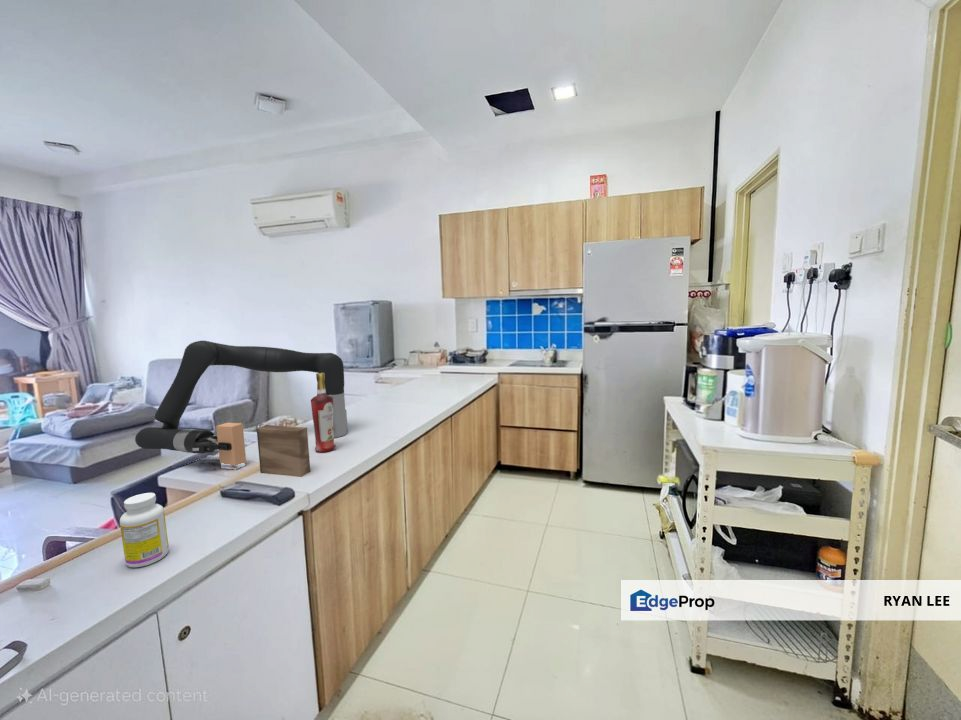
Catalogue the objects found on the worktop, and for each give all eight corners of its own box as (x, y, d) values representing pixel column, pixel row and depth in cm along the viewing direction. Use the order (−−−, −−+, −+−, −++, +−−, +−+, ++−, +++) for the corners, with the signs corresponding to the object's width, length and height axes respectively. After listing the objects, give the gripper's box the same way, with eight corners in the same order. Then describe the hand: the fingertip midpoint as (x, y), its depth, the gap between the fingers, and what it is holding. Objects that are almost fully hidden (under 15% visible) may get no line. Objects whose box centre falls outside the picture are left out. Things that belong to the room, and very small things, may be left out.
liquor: (327, 445, 143) (322, 371, 140) (340, 449, 139) (335, 372, 136) (309, 452, 137) (304, 374, 133) (323, 455, 133) (317, 375, 130)
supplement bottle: (143, 549, 80) (135, 490, 79) (177, 547, 81) (170, 489, 79) (116, 570, 74) (107, 507, 72) (152, 568, 74) (144, 504, 73)
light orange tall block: (231, 464, 126) (227, 422, 124) (246, 465, 125) (242, 423, 123) (220, 468, 122) (216, 426, 121) (235, 470, 121) (231, 427, 119)
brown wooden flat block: (271, 468, 122) (267, 424, 121) (310, 472, 119) (307, 427, 117) (260, 473, 118) (256, 428, 117) (301, 477, 115) (297, 431, 113)
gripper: (170, 436, 119) (215, 440, 115) (213, 423, 133) (254, 426, 128) (173, 460, 120) (217, 464, 116) (215, 444, 133) (256, 448, 129)
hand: (236, 444), depth 122 cm, fingers closed on light orange tall block, 4 cm apart
